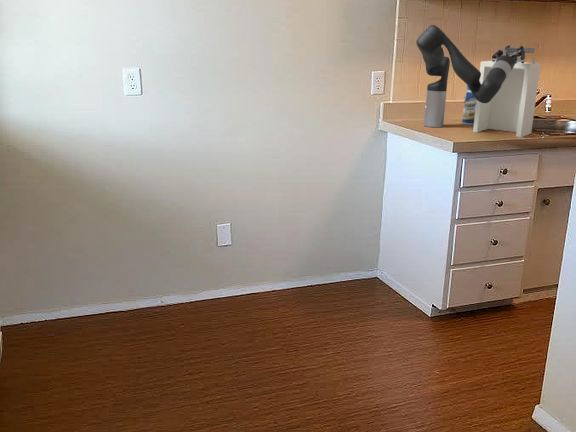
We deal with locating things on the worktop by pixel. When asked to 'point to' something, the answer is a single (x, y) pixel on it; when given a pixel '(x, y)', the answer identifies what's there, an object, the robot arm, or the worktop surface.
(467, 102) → the beverage bottle
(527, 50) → the bar
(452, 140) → the worktop surface
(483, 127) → the shelf
